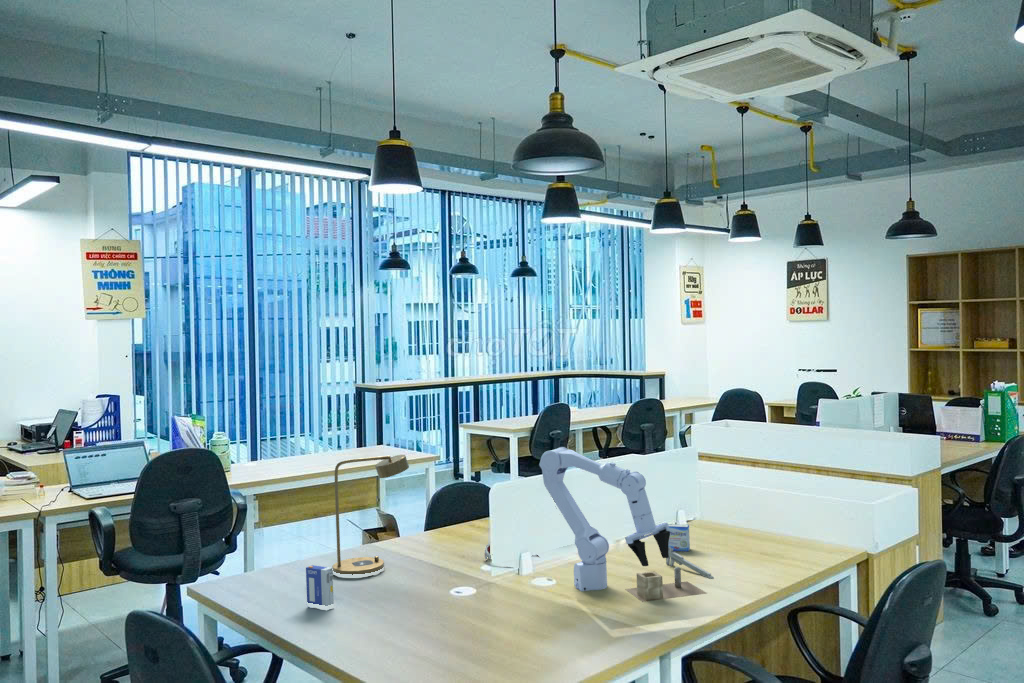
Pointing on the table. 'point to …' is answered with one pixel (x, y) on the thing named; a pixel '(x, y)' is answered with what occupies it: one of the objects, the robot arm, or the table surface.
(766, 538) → the table surface
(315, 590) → the walkman
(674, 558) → the caliper
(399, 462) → the lamp
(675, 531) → the medicine box
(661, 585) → the hollow square tube
